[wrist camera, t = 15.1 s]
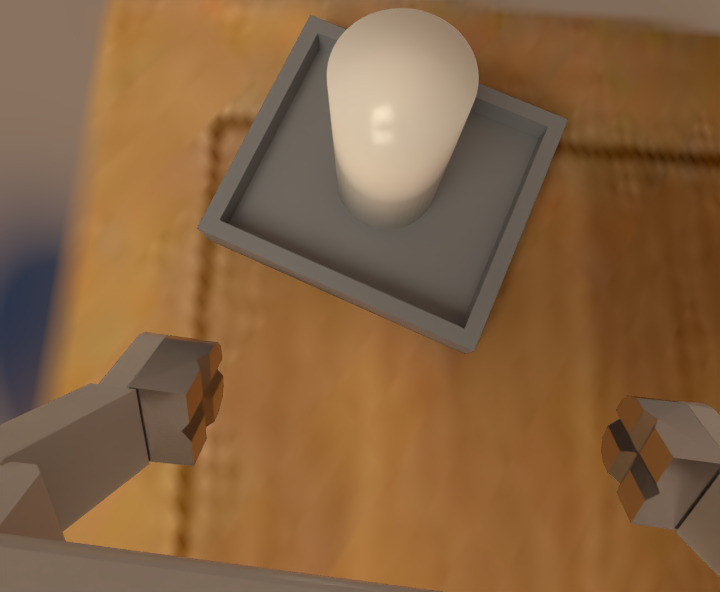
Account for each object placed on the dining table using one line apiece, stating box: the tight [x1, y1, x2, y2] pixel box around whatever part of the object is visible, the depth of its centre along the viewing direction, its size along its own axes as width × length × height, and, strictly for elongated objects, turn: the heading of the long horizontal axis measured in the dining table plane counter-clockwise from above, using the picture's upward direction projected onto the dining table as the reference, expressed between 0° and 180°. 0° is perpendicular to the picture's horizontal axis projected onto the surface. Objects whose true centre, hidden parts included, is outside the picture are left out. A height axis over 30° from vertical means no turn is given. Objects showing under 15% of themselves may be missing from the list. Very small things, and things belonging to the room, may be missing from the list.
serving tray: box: [197, 15, 568, 354], centre depth 31 cm, size 18×16×2 cm
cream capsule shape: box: [327, 8, 479, 229], centre depth 25 cm, size 6×6×11 cm
